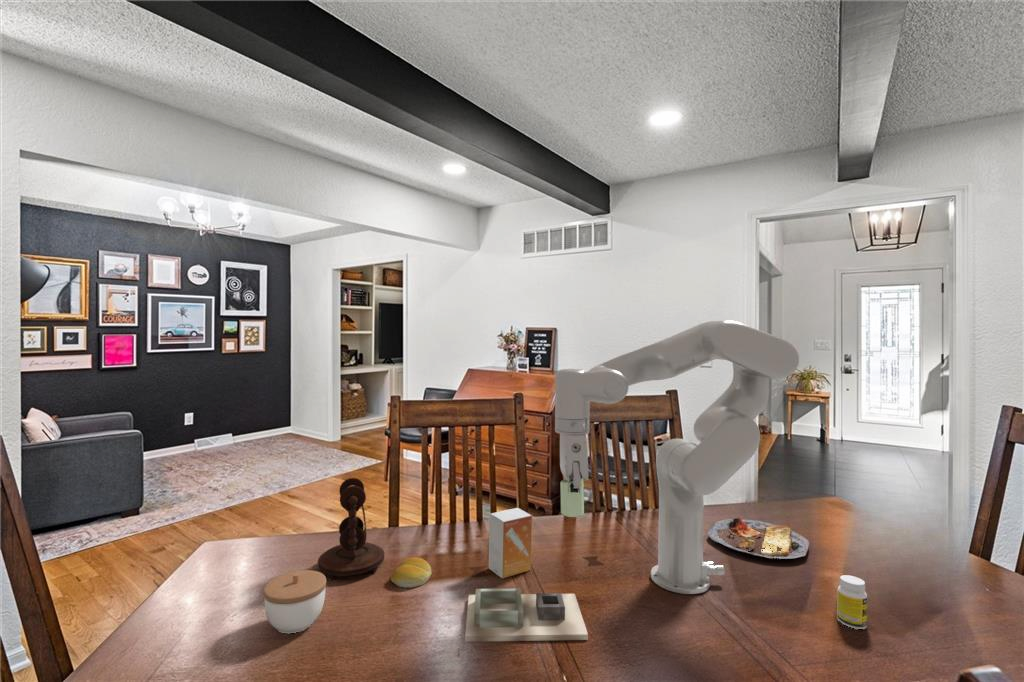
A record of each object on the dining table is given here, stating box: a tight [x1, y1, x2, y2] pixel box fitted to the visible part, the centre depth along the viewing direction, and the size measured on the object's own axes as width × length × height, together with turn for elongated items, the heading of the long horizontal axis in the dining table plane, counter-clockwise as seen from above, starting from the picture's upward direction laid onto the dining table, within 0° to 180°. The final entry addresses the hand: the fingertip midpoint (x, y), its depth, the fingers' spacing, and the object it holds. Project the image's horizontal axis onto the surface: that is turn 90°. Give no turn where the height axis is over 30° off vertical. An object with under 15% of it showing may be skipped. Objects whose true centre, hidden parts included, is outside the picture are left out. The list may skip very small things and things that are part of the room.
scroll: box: [317, 477, 385, 580], centre depth 115 cm, size 15×15×20 cm
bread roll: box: [390, 556, 432, 589], centre depth 110 cm, size 8×9×4 cm
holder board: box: [464, 588, 589, 643], centre depth 95 cm, size 22×14×4 cm, turn 92°
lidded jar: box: [263, 569, 327, 635], centre depth 92 cm, size 11×11×9 cm
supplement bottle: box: [836, 574, 868, 630], centre depth 95 cm, size 5×5×8 cm
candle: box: [560, 475, 585, 518], centre depth 108 cm, size 5×5×8 cm
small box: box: [488, 507, 533, 579], centre depth 115 cm, size 8×6×13 cm
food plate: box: [707, 517, 810, 560], centre depth 132 cm, size 25×23×4 cm
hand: (572, 508), depth 108 cm, fingers closed on candle
